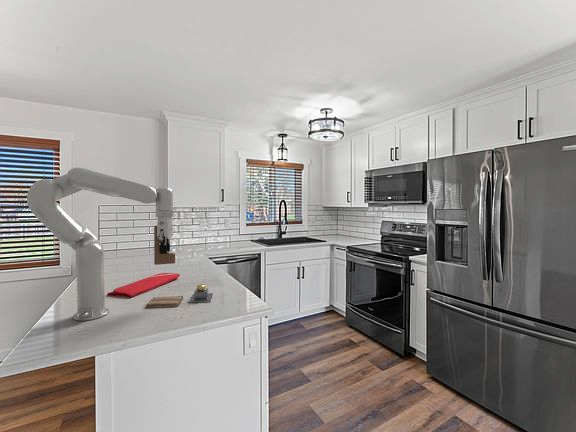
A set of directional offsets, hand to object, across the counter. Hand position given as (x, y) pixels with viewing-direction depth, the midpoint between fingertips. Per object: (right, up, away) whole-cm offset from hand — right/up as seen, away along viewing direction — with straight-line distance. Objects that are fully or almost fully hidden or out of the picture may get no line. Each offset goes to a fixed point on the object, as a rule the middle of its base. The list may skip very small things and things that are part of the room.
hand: (164, 252), depth 138 cm
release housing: (+15, -24, +8) cm, 30 cm away
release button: (+15, -20, +8) cm, 26 cm away
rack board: (0, -24, +1) cm, 24 cm away
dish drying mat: (-23, -24, +30) cm, 45 cm away
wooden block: (0, -6, 0) cm, 6 cm away
